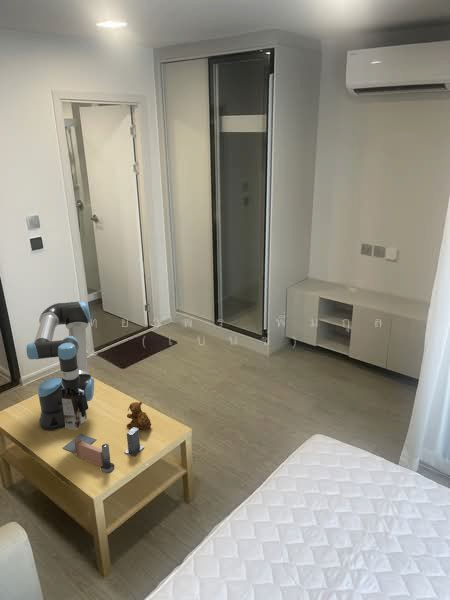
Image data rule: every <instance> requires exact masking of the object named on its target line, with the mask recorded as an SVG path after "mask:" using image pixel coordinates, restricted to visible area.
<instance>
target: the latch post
mask: <svg viewBox="0 0 450 600" xmlns="http://www.w3.org/2000/svg"><path fill="white" fill-rule="evenodd" d="M139 429H140V428H139ZM139 429H138V428H135V427H133V428H132V429H129V430H128V431H127V432H126V439H127V440H126V442H127V449H126V450H125V451H124V454H126V455H129V456H132V457H133V458H134V457H135V458H136V457H137V456H138V455H139V454H140V453H141V451H143V450H144V448H145V447H144V446H143V445H141V442H140V441H141V440H140V430H139Z"/></svg>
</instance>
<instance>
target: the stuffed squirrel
mask: <svg viewBox="0 0 450 600" xmlns="http://www.w3.org/2000/svg"><path fill="white" fill-rule="evenodd" d="M142 404H143V402H142V401H139V402H137V401H135V402H131V403H130V404H129V407H128V409H127V412H129V410H130V412H131V413H127V414H126V418H127V419H131V421H130V422H129V423H127V424H126V427H127V428H128V429H129V430H131V429H132V428H133V427H135V428H138V429H140V430H142V431H145V430H147V429H148V430H149V429H150V428H151V426H152V425H153V424H152V423H151V419H150V417H149V416H148V414H147V412H145V411H143V410H142V408H141V406H142Z"/></svg>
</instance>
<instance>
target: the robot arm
mask: <svg viewBox="0 0 450 600" xmlns="http://www.w3.org/2000/svg"><path fill="white" fill-rule="evenodd" d="M38 321H39V322H38V323H39V326H38V329H37V333H36V335H35V339H34V341H33V342H29V343H27V345H26V355H27V358H28V359H29V360H42V359H50V358H51V359H52V358H58V360H59V367H60V373H61V375H60V376H61V378H60V377H58V376H57V377H55V376H54V377H51V378H48V379H45V380H44V381H42V382H41V383H40V384H39V385H38V389H37V396H38V400H39V405H40V417H39V421H38V422H39V427H40V428H41V429H43V430H45V431H56V430H60V429H63V428H66V426H65V418H64V411H63V404H62V398H63V397H64V396H65V395H68V394H70V395H72V396H73V397H76V396H75V395H77V394H79V397H78V400H77V401H78V407H79V410H80V411H79V418H80V423H81V424H82V423H83V422H84V421H85V422H86V420H87V419H86V420H85V415H86V414H87V413H86V414H85V411H86V412H87V410H88V409H89V404H88V402H91V401H92V400H93V399H94V392H95V391H94V390H95V379H94V377H92V375H91V373H89V372H88V353H87V351H88V350H87V349H88V348H87V333H86V330H87V329H86V328H88V326H89V323H91V322H92V318H91V313H90V309H89V305H88V303H87V302H86V301H69V302H58V303H54V304H51V305H50V306H48V307H47V308H45V309H44V310H43V311H42V313H41V314H40V316H39V320H38ZM59 325H65V328H66V329H67V330H68V336H66V337H64V338H63V339H61V340H53V339H54V336H55V335H54V334H55V331H56V328H57V327H58V326H59ZM81 389H82V390H81ZM85 422H84V423H85ZM84 423H83V424H84ZM83 424H82V425H83Z"/></svg>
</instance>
